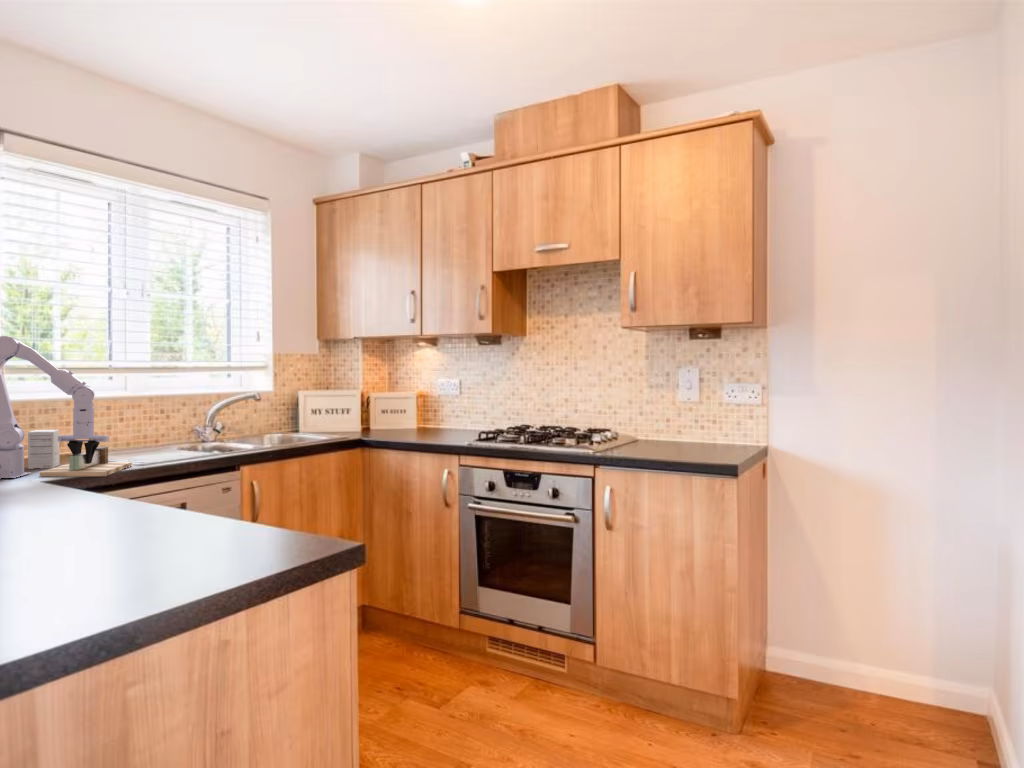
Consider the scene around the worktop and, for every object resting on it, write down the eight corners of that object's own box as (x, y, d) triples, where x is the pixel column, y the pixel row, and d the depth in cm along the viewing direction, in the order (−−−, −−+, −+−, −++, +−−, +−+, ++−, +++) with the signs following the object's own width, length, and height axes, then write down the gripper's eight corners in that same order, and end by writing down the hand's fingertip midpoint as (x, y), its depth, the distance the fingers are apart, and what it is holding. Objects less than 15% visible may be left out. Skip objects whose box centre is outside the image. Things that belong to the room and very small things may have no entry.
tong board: (105, 476, 201) (105, 454, 201) (39, 476, 198) (39, 454, 198) (132, 466, 221) (132, 446, 221) (72, 466, 217) (72, 446, 217)
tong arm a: (78, 469, 201) (78, 455, 201) (74, 469, 201) (74, 455, 201) (100, 463, 215) (100, 450, 215) (95, 463, 215) (96, 450, 215)
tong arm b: (73, 470, 201) (73, 455, 201) (69, 470, 201) (69, 455, 201) (94, 463, 215) (95, 450, 215) (90, 463, 215) (90, 450, 215)
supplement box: (34, 465, 218) (35, 429, 218) (60, 464, 221) (60, 429, 220) (27, 469, 211) (27, 431, 211) (53, 468, 214) (53, 431, 214)
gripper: (52, 423, 202) (52, 465, 202) (101, 423, 204) (101, 465, 204) (64, 421, 208) (64, 462, 209) (111, 421, 211) (111, 461, 211)
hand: (83, 463), depth 207 cm, fingers open, 3 cm apart
